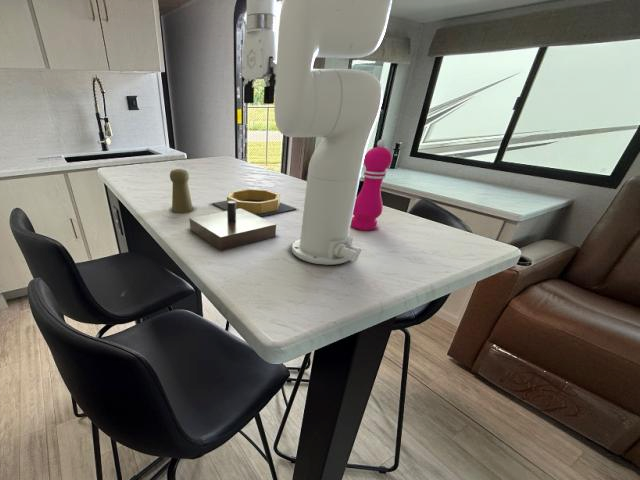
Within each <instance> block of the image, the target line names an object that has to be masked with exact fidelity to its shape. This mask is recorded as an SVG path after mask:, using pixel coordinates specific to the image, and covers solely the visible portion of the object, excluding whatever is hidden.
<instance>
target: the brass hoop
mask: <svg viewBox="0 0 640 480" xmlns="http://www.w3.org/2000/svg"><path fill="white" fill-rule="evenodd" d="M248 199H251V200H266V201H263V202H248V201H242V200H248ZM226 201H227V202H228V201H235V202H236V209H240V208H241V209H243V210H246V211H248V212H250V213H254V214H262V213H267V212H272V211H276V210H278V207H279V204H280V203H281V194H280V193H277V192H274V191H273V190H272V191H271V190H270V189H269V190H268V189H255V188H254V189H253V188H245V189H240V190H233V191H230V193H229V194H228V195H227V196H226Z"/></svg>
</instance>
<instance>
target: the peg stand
mask: <svg viewBox="0 0 640 480" xmlns="http://www.w3.org/2000/svg"><path fill="white" fill-rule="evenodd" d="M189 230H190V231H191V232H193V233H194V234H196V235H197V236H199V237H200V238H202V239H203V240H205V241H206V242H207V243H209V244H210V245H212V246H214V247H215V248H217V249H218V250H220V251H224V250H228V249H232V248H236V247H240V246H244V245H248V244H252V243H255V242H259V241H264V240H267V239H271V238H275V237H276V234H277V223H275V222H272V221H270V220H268V219H265V218H264V217H259V216H257V215H254V214H252V213H250V212H248V211H246V210H243V209H241V208H240V209H236V202H235V201H228V202H227V211H225V210H223V211H219V212H214V213H208V214H203V215H198V216H193V217H189Z"/></svg>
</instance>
